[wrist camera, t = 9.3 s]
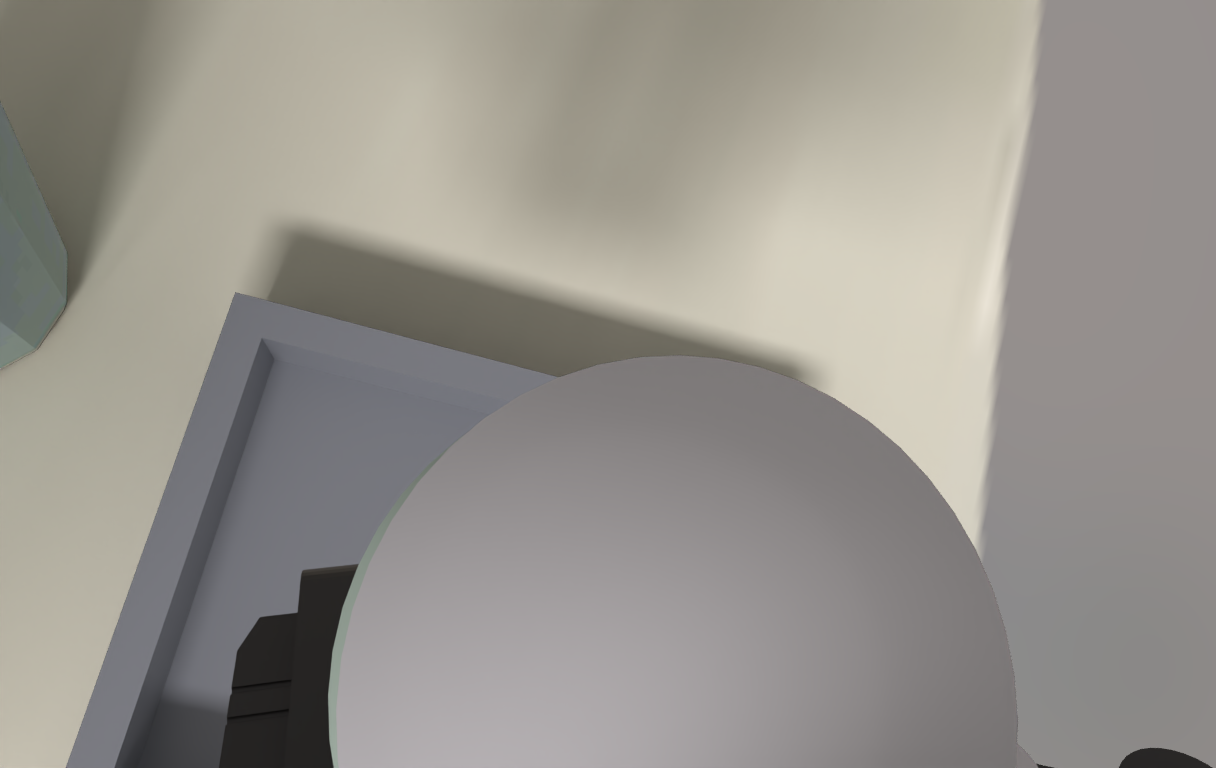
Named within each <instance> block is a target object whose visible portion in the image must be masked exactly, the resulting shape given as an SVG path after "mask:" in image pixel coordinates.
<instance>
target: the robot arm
mask: <svg viewBox="0 0 1216 768" xmlns="http://www.w3.org/2000/svg"><path fill="white" fill-rule="evenodd" d="M358 565H359V564H353V565H344V566H335V567H326V568H317V569H307V570H303V571H302V573H301V580H300V591H299V602H298V613H290V614H281V615H273V616H264V617H260V618H259V619H258V621H257V622H256V624H255V625H254V626H253V628H252V629H251V631H250V632H249V634H248V635H247V637H246V638H245V640H244V641H243V643H242V644H241V646H240V647H239V649H238V650H237V655H236V661H235V667H234V674H233V680H232V687H231V688H232V694H231V695H230V699H229V706H228V712H227V725H225V731H224V738H223V744H222V751H221V757H220V763H219V768H334V766H333V760H332V753H331V747H330V741H329V707H328V692H329V682H330V672H331V662H332V652H333V647H334V642H335V638H336V634H337V630H338V625H339V621H340V617H341V612H342V608H343V605H344V602H345V600H346V597H347V594H348V592H349V589H350V586H351V583H352V581H353V578H354V575H355V573H356V570H357V567H358ZM1016 768H1053V767H1048V766H1043V765H1039V764H1036V763H1035V762H1034V760H1033V759H1032V758H1031V757H1030V755H1029V754H1028V753H1027V752H1026V751H1025V750H1024V749H1023V748H1022V747H1021V746H1019V745H1018V744H1017V759H1016ZM1119 768H1212V767H1210V766H1209V765H1207V764H1205V763H1203V762H1202V761H1199V760H1198V759H1196V758H1193V757H1191V756H1189V755H1186V754H1184V753H1180V752H1177V751H1173V750H1168V749H1162V748H1147V749H1140V750H1137V751H1135V752H1133V753H1131V754H1129V755H1128V756H1126V757H1125V759H1124V760H1123V761H1122V762H1121V764H1120V767H1119Z"/></svg>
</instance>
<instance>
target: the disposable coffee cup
mask: <svg viewBox="0 0 1216 768" xmlns="http://www.w3.org/2000/svg"><path fill="white" fill-rule="evenodd" d="M67 258H68V253H67V251H66V249H65V246H64V244H63V242H62V239H61V237H60V235H59V233H58V230H57V228H56V226H55V224H54V221H53V219H52V217H51V215H50V212H49V210H48V208H47V206H46V203H45V201H44V199H43V197H42V194H41V192H40V190H39V188H38V185H37V183H36V181H35V178H34V176H33V174H32V172H31V169H30V167H29V165H28V163H27V160H26V158H25V156H24V154H23V151H22V149H21V147H20V145H19V142H18V140H17V138H16V136H15V133H14V131H13V129H12V127H11V124H10V122H9V120H8V117H7V115H6V113H5V111H4V108H3V106H2V104H1V102H0V370H1V369H3V368H5V367H6V366H8V365H10V364H12V363H14V362H16V361H17V360H19V359H21V358H23V357H25V356H27V355H29V354H30V353H32V352H34V351H36V350H37V349H38V348H39V346H40V345H41V343H42V342H43V340H44V339H45V337H46V336H47V334H48V333H49V331H50V330H51V328H52V327H53V325H54V324H55V323H56V321H57V320H58V318H59V317H60V315H61V314H62V312H63V311H64V309H65V305H66V303H67Z"/></svg>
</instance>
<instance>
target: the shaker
mask: <svg viewBox="0 0 1216 768" xmlns="http://www.w3.org/2000/svg"><path fill="white" fill-rule="evenodd" d="M328 707H329V741H330V747H331V753H332V760H333V766H334V768H1016V759H1017V732H1018V715H1017V703H1016V689H1015V676H1014V671H1013V666H1012V660H1011V655H1010V650H1009V645H1008V639H1007V634H1006V630H1005V626H1004V623H1003V620H1002V617H1001V614H1000V610H999V607H998V604H997V601H996V597H995V594H994V591H993V588H992V586H991V584H990V581H989V579H988V577H987V574H986V572H985V570H984V568H983V565H982V563H981V561H980V558H979V556H978V554H977V552H976V549H975V548H974V546H973V544H972V542H971V541H970V539H969V537H968V535H967V534H966V532H965V530H964V529H963V527H962V525H961V523H960V522H959V520H958V518H957V516H956V515H955V513H954V511H953V510H952V509H951V507H950V506H949V505H948V503H947V502H946V501H945V499H944V498H943V497H942V495H941V494H940V493H939V491H938V490H937V489H936V487H935V486H934V484H933V483H932V482H931V480H930V479H929V478H928V477H927V476H926V475H925V474H924V472H923V471H922V470H921V469H920V468H919V467H918V466H917V465H916V464H915V463H914V462H913V461H912V460H911V459H910V458H909V456H908V455H907V454H906V453H905V452H904V451H903V450H902V449H901V448H900V447H899V446H898V445H897V444H895V443H894V442H893V441H892V440H891V439H889V438H888V437H887V436H886V435H885V434H884V433H882V432H881V431H880V430H879V429H878V428H876V427H875V426H874V425H873V424H872V423H870V422H869V421H868V420H866V419H865V418H863V417H862V416H860V415H859V414H857V413H856V412H854V411H853V410H851V409H850V408H848V407H847V406H845V405H844V404H842V403H841V402H839V401H838V400H836V399H835V398H833V397H831V396H829V395H827V394H825V393H823V392H820V391H818V390H816V389H814V388H812V387H810V386H808V385H806V384H804V383H802V382H800V381H798V380H796V379H793V378H790V377H787V376H784V375H781V374H778V373H776V372H773V371H770V370H767V369H764V368H761V367H758V366H753V365H748V364H744V363H739V362H734V361H729V360H725V359H720V358H708V357H696V356H683V355H673V356H652V357H637V358H631V359H626V360H620V361H615V362H609V363H604V364H598V365H595V366H592V367H589V368H586V369H583V370H579V371H576V372H573V373H570V374H567V375H564V376H561V377H558V378H556V379H554V380H551V381H549V382H547V383H545V384H543V385H541V386H539V387H537V388H535V389H532V390H530V391H528V392H526V393H524V394H522V395H520V396H518V397H517V398H515V399H514V400H512V401H510V402H509V403H507V404H506V405H504V406H503V407H501V408H500V409H498V410H497V411H495V412H493V413H492V414H490V415H489V416H487V417H486V418H484V419H483V420H482V421H480V422H479V423H478V424H477V425H476V426H474V427H473V428H472V429H471V430H470V431H469V432H467V433H466V434H465V435H464V436H462V437H460V438H459V439H458V440H457V441H456V442H454V443H453V444H452V445H451V446H450V447H448V448H447V449H446V450H445V451H444V452H443V453H441V454H440V455H439V456H438V457H437V458H436V459H434V460H433V461H432V462H431V463H430V464H429V465H428V466H427V467H426V468H425V469H424V470H423V471H422V472H421V473H420V475H419V476H418V477H417V478H416V479H415V480H414V481H413V482H412V483H411V484H410V486H409V487H408V488H407V489H406V490H405V491H404V492H403V493H402V494H401V496H400V497H399V499H398V500H397V502H396V503H395V504H394V506H393V507H392V509H391V510H390V512H389V513H388V514H387V516H386V517H385V519H384V520H383V522H382V523H381V524H380V526H379V527H378V529H377V531H376V533H375V535H374V536H373V538H372V540H371V542H370V544H369V546H368V548H367V550H366V552H365V554H364V556H363V557H362V559H361V561H360V563H359V565H358V567H357V570H356V573H355V575H354V578H353V581H352V583H351V586H350V589H349V592H348V594H347V597H346V600H345V602H344V605H343V608H342V612H341V617H340V621H339V625H338V630H337V634H336V638H335V642H334V647H333V652H332V662H331V672H330V682H329V692H328Z"/></svg>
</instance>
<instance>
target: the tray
mask: <svg viewBox="0 0 1216 768" xmlns="http://www.w3.org/2000/svg"><path fill="white" fill-rule="evenodd" d="M556 378H558V377H556V376H552V375H548V374H544V373H540V372H537V371H533V370H529V369H525V368H521V367H518V366H514V365H510V364H506V363H502V362H499V361H495V360H491V359H487V358H483V357H480V356H476V355H472V354H468V353H464V352H461V351H457V350H453V349H449V348H445V347H442V346H438V345H434V344H430V343H426V342H423V341H419V340H415V339H411V338H407V337H404V336H400V335H396V334H392V333H388V332H385V331H381V330H377V329H373V328H369V327H366V326H362V325H358V324H354V323H350V322H347V321H343V320H339V319H335V318H331V317H328V316H324V315H320V314H316V313H312V312H309V311H305V310H301V309H297V308H293V307H290V306H286V305H282V304H278V303H274V302H271V301H267V300H263V299H259V298H255V297H252V296H248V295H244V294H240V293H236V292H235V295H234V298H233V300H232V303H231V306H230V309H229V312H228V314H227V317H226V320H225V323H224V326H223V328H222V331H221V334H220V337H219V340H218V342H217V345H216V348H215V351H214V354H213V356H212V359H211V362H210V365H209V368H208V370H207V373H206V376H205V379H204V382H203V384H202V387H201V390H200V393H199V396H198V398H197V401H196V404H195V407H194V410H193V412H192V415H191V418H190V421H189V424H188V427H187V429H186V432H185V435H184V438H183V441H182V443H181V446H180V449H179V452H178V455H177V457H176V460H175V463H174V466H173V469H172V471H171V474H170V477H169V480H168V483H167V485H166V488H165V491H164V494H163V497H162V499H161V502H160V505H159V508H158V511H157V513H156V516H155V519H154V522H153V525H152V527H151V530H150V533H149V536H148V539H147V541H146V544H145V547H144V550H143V553H142V556H141V558H140V561H139V564H138V567H137V570H136V572H135V575H134V578H133V581H132V584H131V586H130V589H129V592H128V595H127V598H126V600H125V603H124V606H123V609H122V612H121V614H120V617H119V620H118V623H117V626H116V628H115V631H114V634H113V637H112V640H111V642H110V645H109V648H108V651H107V654H106V656H105V659H104V662H103V665H102V668H101V670H100V673H99V676H98V679H97V682H96V685H95V687H94V690H93V693H92V696H91V699H90V701H89V704H88V707H87V710H86V713H85V715H84V718H83V721H82V724H81V727H80V729H79V732H78V735H77V738H76V741H75V743H74V746H73V749H72V752H71V755H70V757H69V760H68V763H67V766H66V768H219V763H220V757H221V751H222V744H223V738H224V731H225V725H227V712H228V706H229V699H230V695H231V694H232V688H231V687H232V680H233V674H234V667H235V661H236V655H237V650H238V649H239V647H240V646H241V644H242V643H243V641H244V640H245V638H246V637H247V635H248V634H249V632H250V631H251V629H252V628H253V626H254V625H255V624H256V622H257V621H258V619H259V618H260V617H264V616H273V615H281V614H290V613H298V602H299V591H300V580H301V573H302V571H303V570H307V569H317V568H326V567H335V566H344V565H353V564H359V563H360V561H361V559H362V557H363V556H364V554H365V552H366V550H367V548H368V546H369V544H370V542H371V540H372V538H373V536H374V535H375V533H376V531H377V529H378V527H379V526H380V524H381V523H382V522H383V520H384V519H385V517H386V516H387V514H388V513H389V512H390V510H391V509H392V507H393V506H394V504H395V503H396V502H397V500H398V499H399V497H400V496H401V494H402V493H403V492H404V491H405V490H406V489H407V488H408V487H409V486H410V484H411V483H412V482H413V481H414V480H415V479H416V478H417V477H418V476H419V475H420V473H421V472H422V471H423V470H424V469H425V468H426V467H427V466H428V465H429V464H430V463H431V462H432V461H433V460H434V459H436V458H437V457H438V456H439V455H440V454H441V453H443V452H444V451H445V450H446V449H447V448H448V447H450V446H451V445H452V444H453V443H454V442H456V441H457V440H458V439H459V438H460V437H462V436H464V435H465V434H466V433H467V432H469V431H470V430H471V429H472V428H473V427H474V426H476V425H477V424H478V423H479V422H480V421H482V420H483V419H484V418H486V417H487V416H489V415H490V414H492V413H493V412H495V411H497V410H498V409H500V408H501V407H503V406H504V405H506V404H507V403H509V402H510V401H512V400H514V399H515V398H517V397H518V396H520V395H522V394H524V393H526V392H528V391H530V390H532V389H535V388H537V387H539V386H541V385H543V384H545V383H547V382H549V381H551V380H554V379H556Z"/></svg>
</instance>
